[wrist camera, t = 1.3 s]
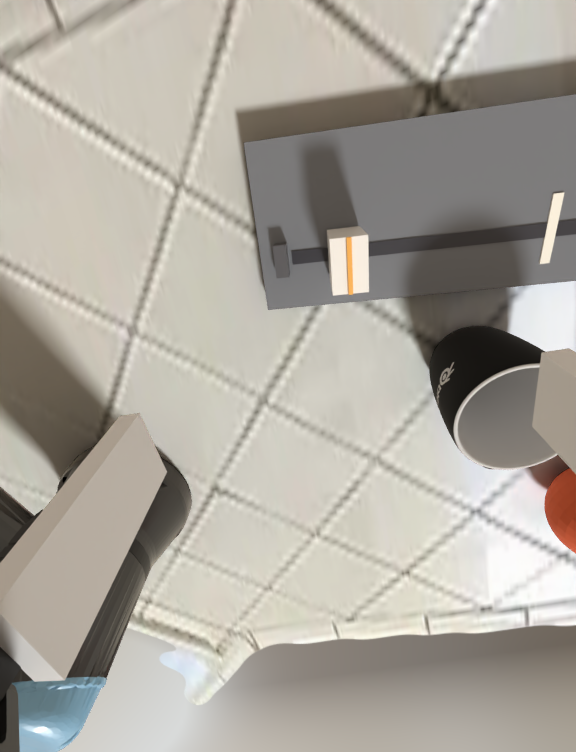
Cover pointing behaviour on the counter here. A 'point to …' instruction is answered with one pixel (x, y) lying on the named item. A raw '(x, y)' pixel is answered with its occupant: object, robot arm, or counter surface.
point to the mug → (489, 396)
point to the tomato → (563, 508)
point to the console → (421, 202)
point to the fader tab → (348, 260)
